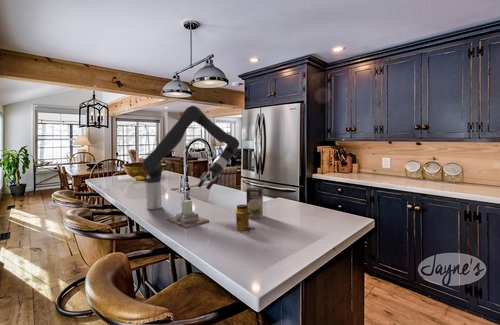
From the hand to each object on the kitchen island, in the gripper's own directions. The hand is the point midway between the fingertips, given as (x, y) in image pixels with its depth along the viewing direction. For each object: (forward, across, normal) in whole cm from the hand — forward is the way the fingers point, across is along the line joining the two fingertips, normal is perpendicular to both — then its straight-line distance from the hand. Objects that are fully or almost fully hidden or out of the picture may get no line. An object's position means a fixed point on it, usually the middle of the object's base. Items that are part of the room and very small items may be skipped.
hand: (202, 187), depth 148 cm
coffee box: (-2, +22, +26) cm, 34 cm away
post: (+19, 0, +4) cm, 19 cm away
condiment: (+11, +32, +13) cm, 36 cm away
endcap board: (+19, 0, +4) cm, 20 cm away
